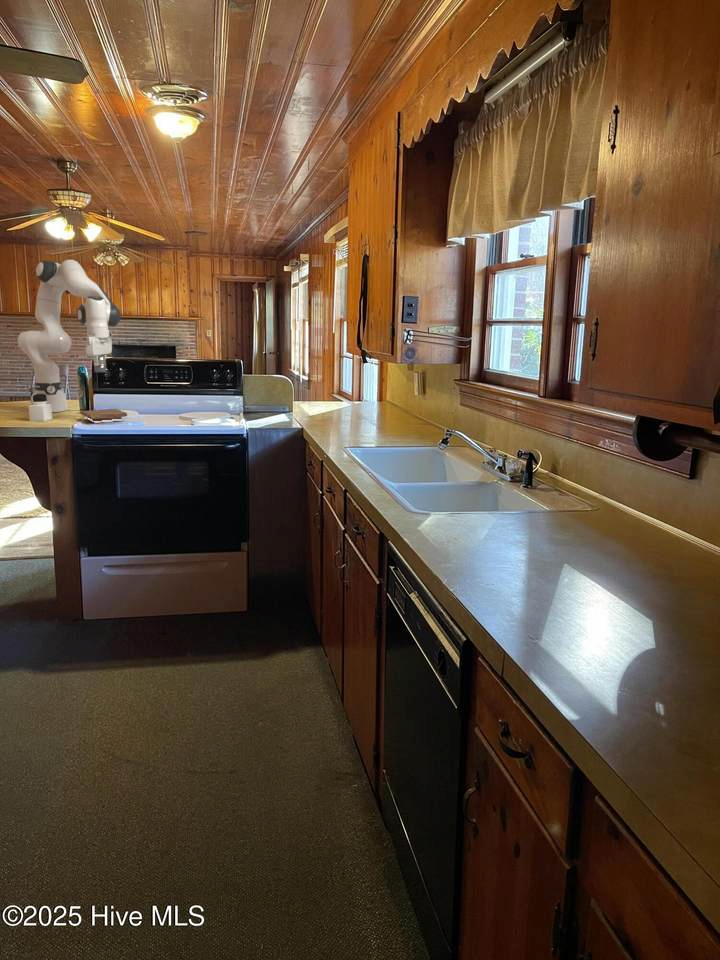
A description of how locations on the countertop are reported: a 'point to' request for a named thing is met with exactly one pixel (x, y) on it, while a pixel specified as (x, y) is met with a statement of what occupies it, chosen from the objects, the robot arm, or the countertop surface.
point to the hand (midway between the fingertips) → (99, 365)
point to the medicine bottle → (40, 408)
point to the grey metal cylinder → (101, 365)
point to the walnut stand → (104, 414)
